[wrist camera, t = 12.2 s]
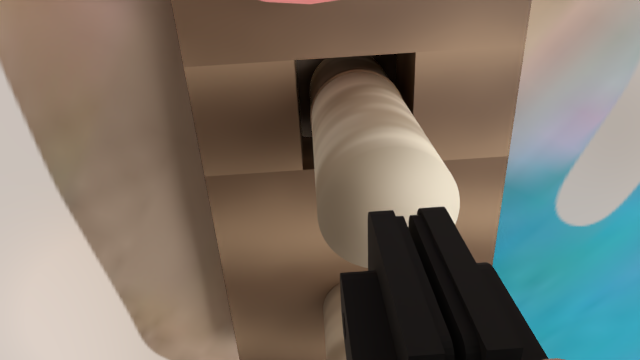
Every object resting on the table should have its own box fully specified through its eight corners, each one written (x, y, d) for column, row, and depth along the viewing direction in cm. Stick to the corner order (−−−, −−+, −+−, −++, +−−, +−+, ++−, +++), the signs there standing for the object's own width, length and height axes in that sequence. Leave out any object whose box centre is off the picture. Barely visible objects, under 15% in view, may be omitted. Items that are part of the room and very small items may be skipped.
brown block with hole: (457, 313, 31) (540, 509, 20) (249, 328, 31) (223, 533, 20) (497, -51, 21) (708, -46, 10) (188, -32, 21) (70, -6, 10)
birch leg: (389, 46, 23) (468, 140, 12) (387, 125, 24) (455, 265, 14) (305, 51, 22) (311, 150, 12) (311, 130, 24) (319, 275, 14)
